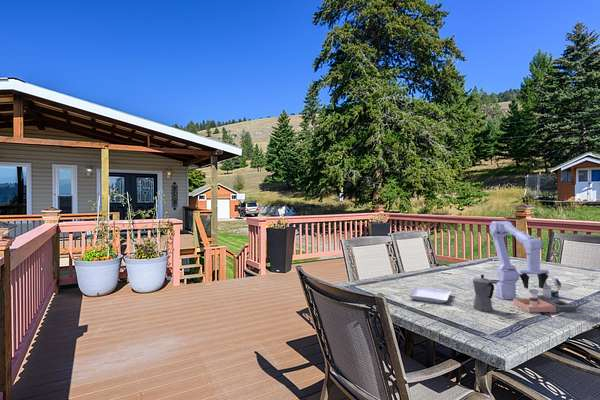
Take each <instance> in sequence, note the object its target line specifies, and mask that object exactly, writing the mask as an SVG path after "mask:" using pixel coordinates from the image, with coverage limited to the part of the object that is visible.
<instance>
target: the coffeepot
mask: <svg viewBox="0 0 600 400" xmlns="http://www.w3.org/2000/svg"><path fill="white" fill-rule="evenodd" d="M472 284H473V289H474V293H475V295H474V298H473V299H474V300H473V305H472V306H473V310H475V311H478V312H483V313H490V312H493V309H494V308H493V303H492V298H493V294H494V291H495V285H494V282H493V280H492V279H488V278H485V274H480V277H474V278H472Z"/></svg>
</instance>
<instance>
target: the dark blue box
mask: <svg viewBox="0 0 600 400" xmlns="http://www.w3.org/2000/svg"><path fill="white" fill-rule="evenodd" d="M548 279H552V281H553V283H554V285H555V286H556V288H557V290H554V289H551V296H552V297H554V298H556V299H558V298H559V291H560V290H561V288H562V283H561V282H560V280H559V278H556V277H554V276H550V277H549V276H548V278H547V279H546V281H545V283H544V285H548V284H547V280H548Z"/></svg>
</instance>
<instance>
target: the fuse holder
mask: <svg viewBox="0 0 600 400" xmlns="http://www.w3.org/2000/svg"><path fill="white" fill-rule="evenodd" d="M538 299H540V300H543V301H545V302H547V303H549V304H552V305H554V306H556V311H557V310H558V311H557V312H559V311H560V312H559V313H562V312H563V313H573V312H575V313H576V312H577V306H576V305H574V304H570V303H568V302H565V300H561V299H559V298H554V297H552V296H551V299H544V298H543V294H538Z"/></svg>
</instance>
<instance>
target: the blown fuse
mask: <svg viewBox="0 0 600 400" xmlns="http://www.w3.org/2000/svg"><path fill="white" fill-rule="evenodd" d="M528 292H529V298H528V299H529V300H530V304H529V306H538V295H539V290H538V289H535V288H530V289H529V288H528Z"/></svg>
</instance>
